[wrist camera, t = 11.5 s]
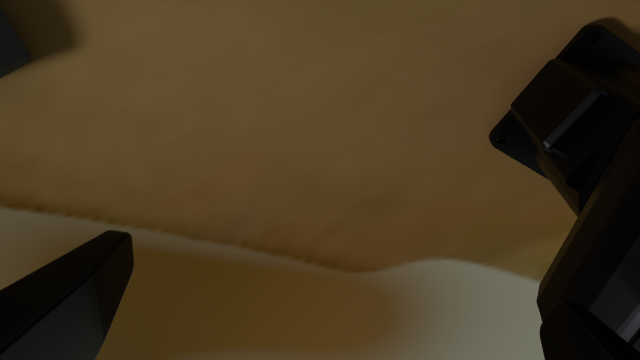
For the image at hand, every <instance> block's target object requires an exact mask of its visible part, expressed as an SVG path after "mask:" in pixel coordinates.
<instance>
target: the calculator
mask: <svg viewBox="0 0 640 360" xmlns="http://www.w3.org/2000/svg"><path fill="white" fill-rule="evenodd" d="M29 61H30V54H29V52H28V50H27V48H26V47H25V45H24V44H23V42H22V41H21V39H20V38H19V36H18V34H17V33H16V31H15V30H14V28H13V27H12V25H11V24H10V22H9V21H8V19H7V17H6V16H5V14H4V13H3V11H2V10H1V8H0V78H2V77H4V76H5V75H7V74H9V73H11V72H13V71H14V70H16V69H18V68H20V67H22V66H23V65H25V64H27V63H28V62H29Z"/></svg>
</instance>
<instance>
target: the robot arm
mask: <svg viewBox="0 0 640 360" xmlns="http://www.w3.org/2000/svg"><path fill="white" fill-rule="evenodd" d="M592 32H596V36H595V38H594V39H593V40H592V41H589V42H588V41H587V40H588V36H589V35H590V34H591V33H592ZM500 135H505V137H504V138H503V139H502V140H499V141H498V140H496V139H497V137H498V136H500ZM489 140H490V142H491V144H492V145H493V146H494V147H495V148H496V149H498V150H500V151H501V152H503V153H505V154H506V155H508V156H510V157H511V158H513V159H515V160H517V161H518V162H520V163H522V164H523V165H525V166H527V167H528V168H530V169H532V170H533V171H535V172H537V173H538V174H540V175H542V176H543V177H545V178H547V179H548V180H550V181H551V182H552V184H553V185H554V186H555V188H556V189H557V190H558V192H559V193H560V194H561V196H562V197H563V198H564V200H565V201H566V202H567V204H568V205H569V206H570V208H571V209H572V210H573V212H574V213H575V214H576V216H577V217H578V218H577V220H576V222H575V224H574V225H573V227H572V229H571V231H570V232H569V234H568V236H567V238H566V239H565V241H564V243H563V245H562V246H561V248H560V250H559V252H558V253H557V255H556V257H555V259H554V260H553V262H552V264H551V266H550V267H549V269H548V271H547V273H546V274H545V276H544V278H543V280H542V281H541V283H540V285H539V291H538V296H537V305H538V308H539V312H540V315H541V319H542V322H543V323H542V324H541V327H540V339H541V343H542V348H543V353H544V357H545V360H640V53H639V52H638V51H636V50H635V49H634V48H632V47H631V46H629V45H628V44H627V43H625V42H624V41H622V40H621V39H620V38H618V37H617V36H616V35H614V34H613V33H611V32H610V31H609V30H607V29H606V28H604V27H603V26H600V25H598V24H595V23H592V24H588V25H586V26H584V27H583V28H582V29H581V30H580V31H579V32H578V33H577V34H576V35H575V37H574V38H573V39H572V40H571V41H570V42H569V43H568V44H567V46H566V47H565V48H564V49H563V50H562V51H561V52H560V54H559V55H558V56H557V57H556V58H555V59H552V60H549V61H548V63H547V64H546V65H545V66H544V67H543V68H542V69H541V71H540V72H539V73H538V74H537V75H536V76H535V77H534V79H533V80H532V81H531V82H530V83H529V84H528V85H527V87H526V88H525V89H524V90H523V91H522V92H521V93H520V95H519V96H518V97H517V98H516V99H515V100H514V101H513V103H512V104H511V109H510V110H509V111H508V113H507V114H506V115H505V116H504V117H503V118H502V119H501V121H500V122H499V123H498V124H497V125H496V126H495V127H494V129H493V130H492V131H491V132H490V134H489ZM133 268H134V257H133V245H132V237H131V235H130V234H129V233H127V232H122V231H115V230H109V231H106V232H104V233H102V234H100V235H99V236H97V237H95V238H94V239H91V240H90V241H88V242H86V243H84V244H83V245H81V246H79V247H77V248H75V249H74V250H72V251H70V252H68V253H67V254H65V255H63V256H61V257H59V258H57V259H56V260H54V261H52V262H50V263H48V264H47V265H45V266H43V267H41V268H40V269H38V270H36V271H34V272H33V273H31V274H29V275H27V276H25V277H24V278H22V279H20V280H18V281H16V282H14V283H13V284H11V285H9V286H7V287H5V288H4V289H2V290H0V360H95V358H96V356H97V355H98V353H99V351H100V349H101V347H102V345H103V343H104V341H105V338H106V336H107V334H108V331H109V329H110V327H111V324H112V321H113V319H114V317H115V314H116V312H117V309H118V307H119V304H120V302H121V300H122V297H123V295H124V292H125V290H126V287H127V285H128V282H129V280H130V277H131V275H132V272H133Z"/></svg>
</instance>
